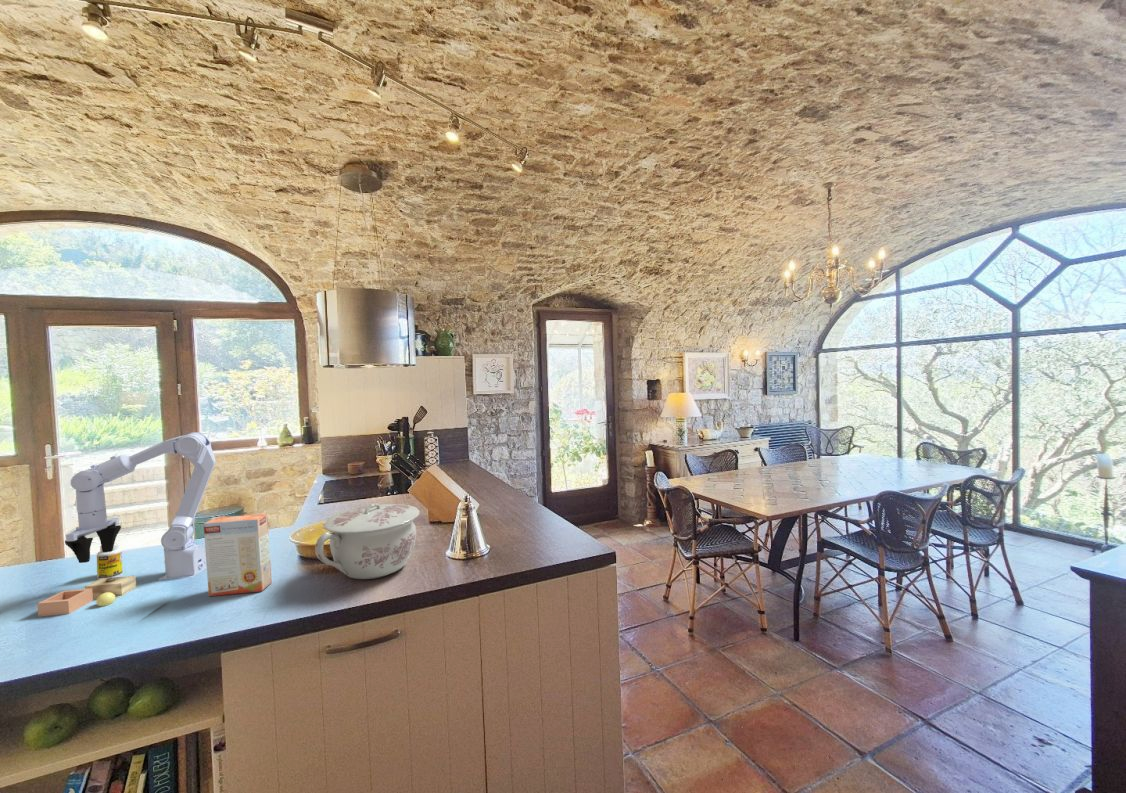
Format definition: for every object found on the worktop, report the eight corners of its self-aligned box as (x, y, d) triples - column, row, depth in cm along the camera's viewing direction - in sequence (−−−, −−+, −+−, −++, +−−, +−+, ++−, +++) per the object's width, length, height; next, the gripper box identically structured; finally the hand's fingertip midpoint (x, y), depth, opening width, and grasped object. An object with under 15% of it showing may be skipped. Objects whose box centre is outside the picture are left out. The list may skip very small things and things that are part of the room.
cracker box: (272, 582, 134) (268, 512, 133) (262, 592, 128) (257, 519, 127) (221, 587, 132) (216, 516, 131) (207, 597, 126) (202, 522, 125)
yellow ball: (119, 602, 125) (118, 589, 125) (108, 608, 121) (107, 595, 121) (104, 603, 125) (103, 590, 124) (93, 610, 121) (91, 596, 121)
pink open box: (93, 602, 125) (92, 588, 125) (69, 615, 118) (68, 600, 118) (64, 605, 124) (63, 590, 124) (38, 618, 117) (37, 603, 117)
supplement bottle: (94, 582, 138) (93, 548, 138) (100, 575, 143) (99, 543, 142) (120, 577, 141) (119, 545, 141) (124, 571, 146) (123, 540, 145)
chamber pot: (422, 547, 158) (419, 488, 157) (423, 581, 132) (419, 510, 131) (332, 560, 150) (329, 497, 149) (315, 598, 123) (310, 523, 122)
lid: (136, 587, 132) (135, 573, 132) (122, 595, 128) (120, 581, 127) (101, 590, 131) (100, 576, 131) (85, 598, 126) (84, 584, 126)
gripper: (99, 504, 138) (103, 548, 139) (51, 519, 124) (56, 568, 125) (124, 502, 139) (128, 546, 140) (80, 517, 125) (85, 566, 126)
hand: (96, 556), depth 132 cm, fingers open, 7 cm apart
